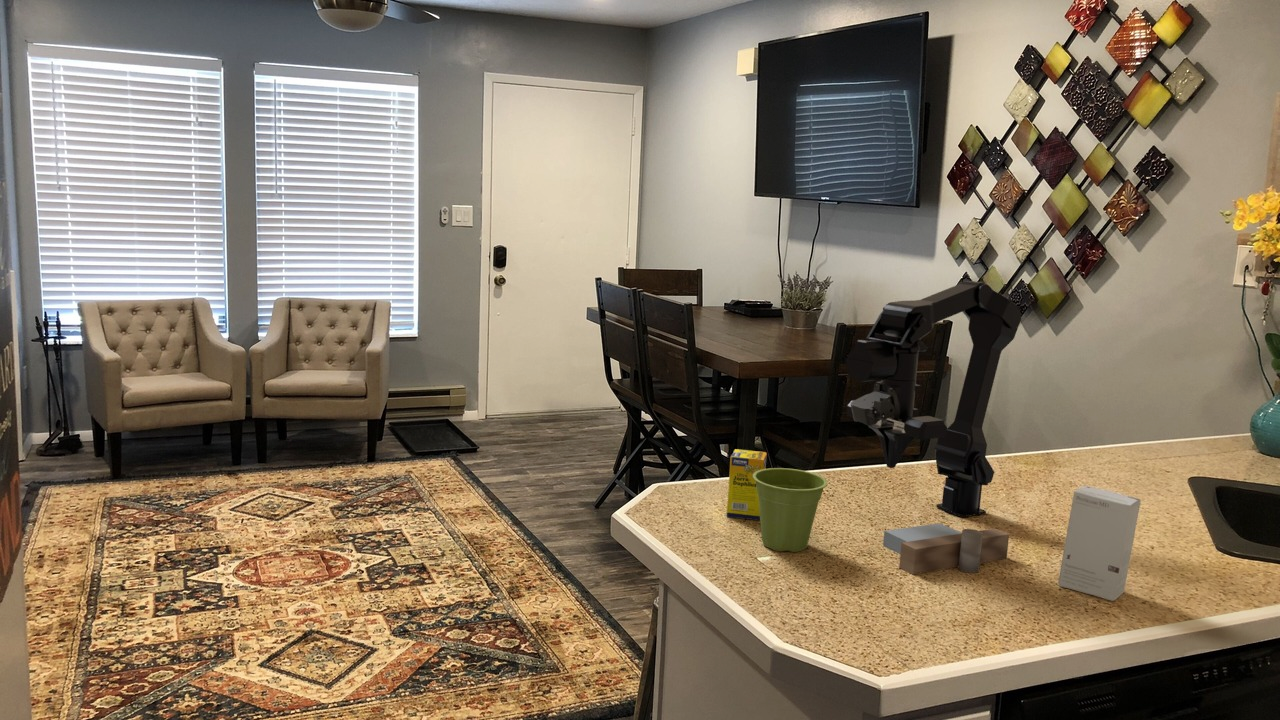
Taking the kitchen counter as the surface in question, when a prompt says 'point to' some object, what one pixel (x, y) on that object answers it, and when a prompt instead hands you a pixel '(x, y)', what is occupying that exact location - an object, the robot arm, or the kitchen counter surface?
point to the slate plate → (915, 535)
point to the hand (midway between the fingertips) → (890, 467)
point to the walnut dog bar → (954, 551)
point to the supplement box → (744, 484)
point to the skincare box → (1099, 542)
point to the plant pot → (787, 506)
